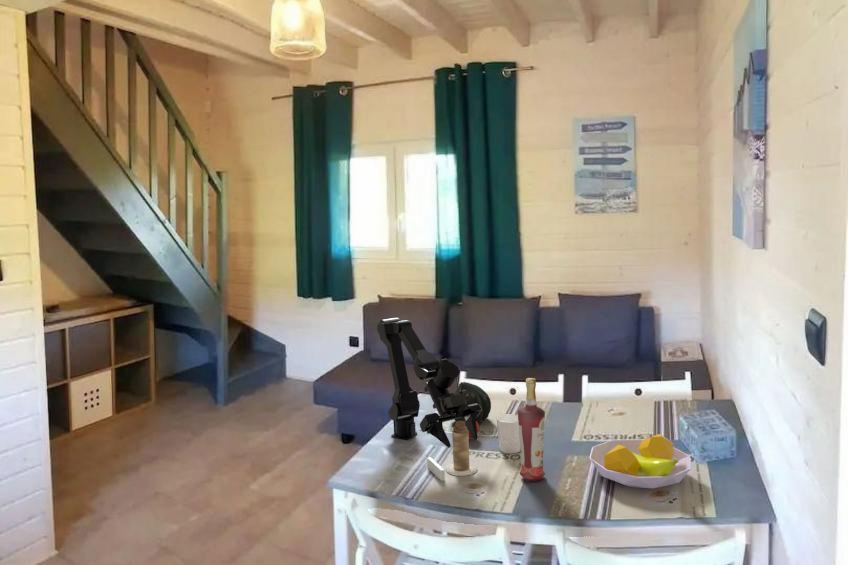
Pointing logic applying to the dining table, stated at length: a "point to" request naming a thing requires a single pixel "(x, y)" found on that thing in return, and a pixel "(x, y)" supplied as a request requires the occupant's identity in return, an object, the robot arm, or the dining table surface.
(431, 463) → the divider wall
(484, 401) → the squash
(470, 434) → the onion
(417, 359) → the robot arm
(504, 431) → the white cup
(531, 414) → the liquor
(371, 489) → the dining table surface
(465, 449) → the pepper mill
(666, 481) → the fruit bowl
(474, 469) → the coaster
